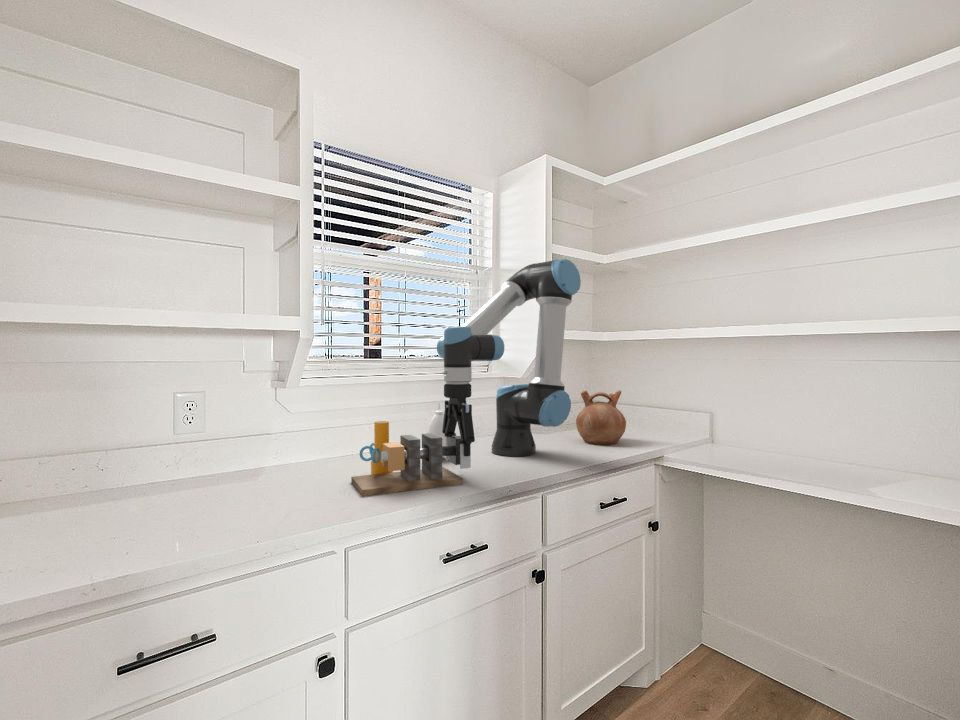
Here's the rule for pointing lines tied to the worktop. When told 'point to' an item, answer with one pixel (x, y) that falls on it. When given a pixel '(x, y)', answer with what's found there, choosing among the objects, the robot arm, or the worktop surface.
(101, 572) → the worktop surface
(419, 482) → the jig
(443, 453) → the shaft
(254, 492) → the worktop surface
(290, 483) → the worktop surface
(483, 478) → the worktop surface
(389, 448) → the block
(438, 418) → the sauce bottle
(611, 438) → the jug
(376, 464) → the cylinder
